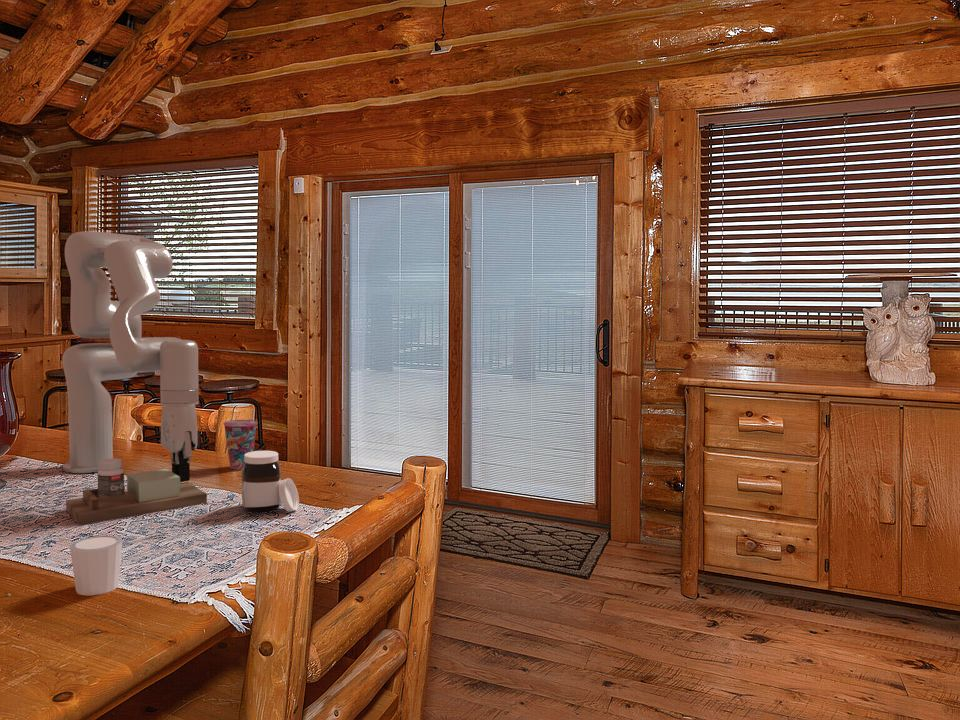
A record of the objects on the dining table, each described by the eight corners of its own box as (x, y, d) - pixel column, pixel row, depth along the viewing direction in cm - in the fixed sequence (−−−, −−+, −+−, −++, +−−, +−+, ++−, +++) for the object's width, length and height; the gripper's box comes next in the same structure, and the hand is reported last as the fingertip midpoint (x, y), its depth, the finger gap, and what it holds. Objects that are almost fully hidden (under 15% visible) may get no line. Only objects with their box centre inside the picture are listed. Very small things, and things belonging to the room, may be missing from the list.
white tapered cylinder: (109, 574, 107) (108, 531, 106) (132, 585, 103) (131, 541, 102) (62, 589, 101) (61, 543, 101) (85, 601, 97) (83, 554, 97)
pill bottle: (113, 505, 136) (112, 464, 135) (92, 503, 137) (91, 462, 136) (129, 498, 140) (129, 458, 140) (109, 496, 141) (108, 457, 141)
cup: (216, 469, 174) (215, 423, 173) (239, 462, 181) (239, 418, 180) (245, 473, 170) (244, 426, 169) (267, 466, 178) (267, 421, 177)
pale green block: (127, 492, 144) (126, 474, 144) (166, 486, 150) (166, 468, 149) (139, 502, 138) (138, 483, 137) (180, 495, 143) (180, 477, 143)
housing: (66, 509, 138) (65, 490, 138) (187, 490, 154) (187, 473, 154) (79, 525, 129) (78, 504, 129) (206, 502, 145) (206, 484, 145)
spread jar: (240, 503, 146) (240, 450, 145) (294, 498, 150) (294, 446, 149) (244, 520, 135) (244, 462, 134) (302, 514, 139) (302, 458, 138)
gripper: (150, 394, 149) (152, 476, 150) (172, 403, 138) (174, 491, 139) (186, 392, 154) (187, 471, 155) (210, 400, 143) (211, 485, 144)
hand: (180, 480), depth 147 cm, fingers closed
